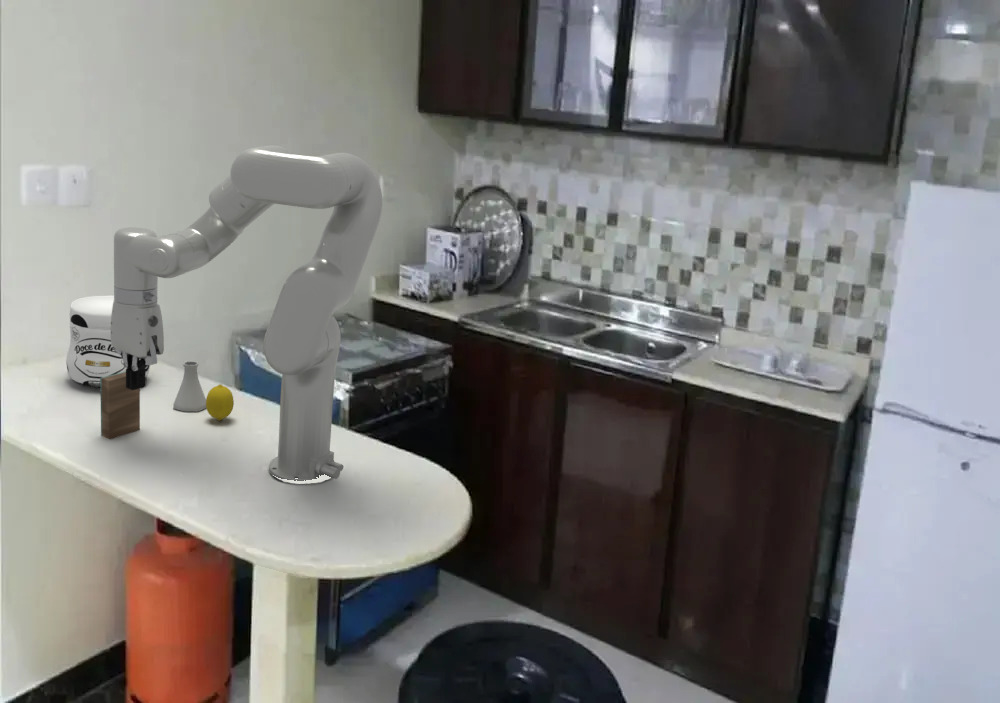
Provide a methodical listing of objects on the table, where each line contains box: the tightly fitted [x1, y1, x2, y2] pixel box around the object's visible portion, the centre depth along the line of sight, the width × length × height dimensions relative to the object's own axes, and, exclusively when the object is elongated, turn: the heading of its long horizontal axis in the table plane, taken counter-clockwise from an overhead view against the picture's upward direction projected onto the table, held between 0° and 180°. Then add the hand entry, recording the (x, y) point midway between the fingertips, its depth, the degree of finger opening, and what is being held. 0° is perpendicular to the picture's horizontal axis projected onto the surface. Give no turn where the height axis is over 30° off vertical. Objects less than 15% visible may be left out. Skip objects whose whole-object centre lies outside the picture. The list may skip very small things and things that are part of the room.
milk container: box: [65, 294, 151, 389], centre depth 206 cm, size 17×17×18 cm
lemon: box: [205, 384, 235, 422], centre depth 193 cm, size 6×6×8 cm
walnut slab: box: [99, 371, 141, 440], centre depth 182 cm, size 2×7×12 cm, turn 149°
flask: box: [172, 360, 207, 412], centre depth 199 cm, size 7×7×10 cm
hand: (135, 387), depth 178 cm, fingers closed
